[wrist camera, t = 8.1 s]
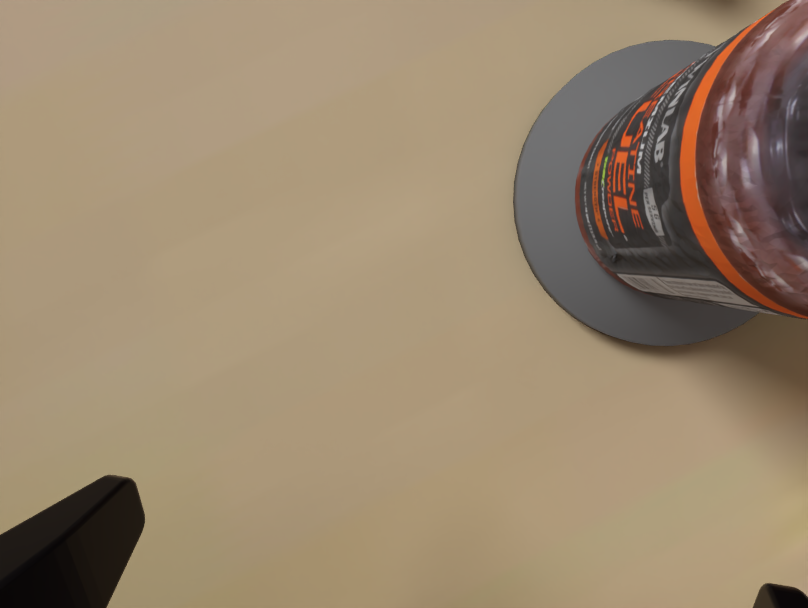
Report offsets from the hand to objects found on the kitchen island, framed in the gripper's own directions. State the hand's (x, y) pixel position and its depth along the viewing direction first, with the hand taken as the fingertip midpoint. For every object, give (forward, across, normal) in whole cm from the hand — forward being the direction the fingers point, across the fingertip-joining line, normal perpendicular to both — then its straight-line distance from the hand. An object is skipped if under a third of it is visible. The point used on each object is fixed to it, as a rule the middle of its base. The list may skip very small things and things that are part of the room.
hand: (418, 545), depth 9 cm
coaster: (+14, -5, -1) cm, 15 cm away
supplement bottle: (+13, -5, -1) cm, 14 cm away
